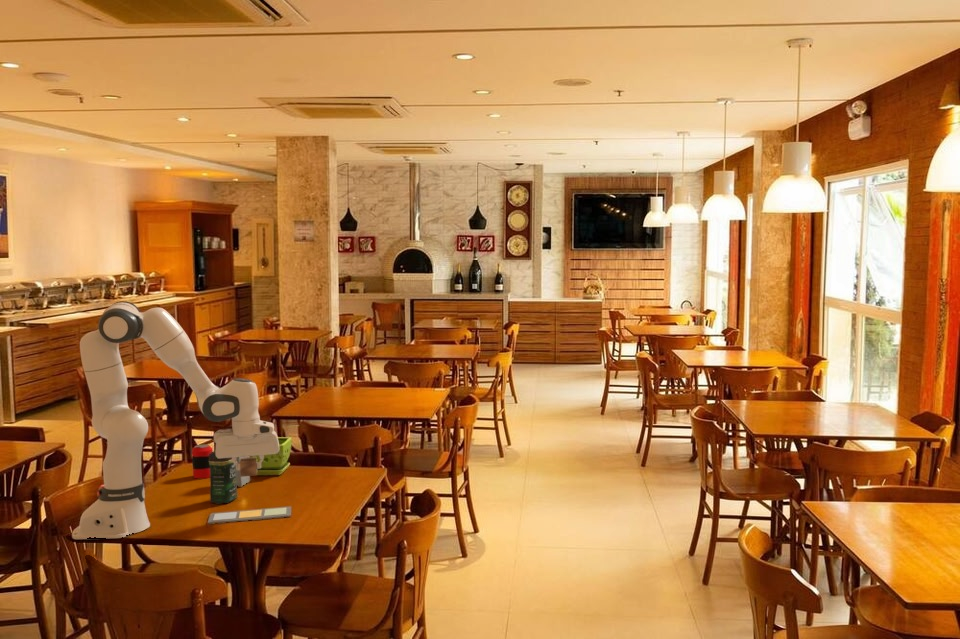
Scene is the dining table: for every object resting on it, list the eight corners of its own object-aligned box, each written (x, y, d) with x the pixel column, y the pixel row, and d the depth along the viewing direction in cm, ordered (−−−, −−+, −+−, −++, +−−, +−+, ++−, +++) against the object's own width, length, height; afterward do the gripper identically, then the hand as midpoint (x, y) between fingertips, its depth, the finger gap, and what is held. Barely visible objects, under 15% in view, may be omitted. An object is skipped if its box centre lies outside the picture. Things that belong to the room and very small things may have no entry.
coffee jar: (228, 505, 289) (226, 451, 288) (207, 504, 290) (204, 451, 289) (241, 496, 299) (238, 445, 297) (220, 496, 300) (217, 445, 299)
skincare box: (241, 487, 311) (239, 445, 310) (223, 487, 312) (221, 445, 311) (251, 481, 319) (249, 440, 318) (233, 481, 320) (231, 440, 319)
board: (207, 524, 269) (207, 522, 269) (210, 515, 278) (210, 512, 278) (290, 517, 274) (290, 514, 274) (291, 508, 284) (291, 505, 284)
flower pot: (248, 477, 325) (247, 445, 324) (259, 468, 339) (258, 437, 338) (284, 476, 325) (283, 444, 324) (294, 467, 339) (292, 436, 338)
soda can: (189, 478, 326) (187, 447, 326) (202, 473, 333) (200, 443, 332) (204, 479, 324) (202, 448, 323) (217, 474, 330) (216, 444, 330)
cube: (240, 476, 273) (239, 461, 273) (241, 472, 278) (240, 457, 278) (256, 475, 274) (255, 460, 274) (257, 471, 279) (256, 456, 279)
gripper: (212, 432, 270) (214, 474, 271) (277, 427, 274) (280, 468, 275) (214, 428, 276) (216, 469, 277) (278, 423, 280) (280, 464, 281)
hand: (248, 469), depth 276 cm, fingers closed on cube, 5 cm apart
